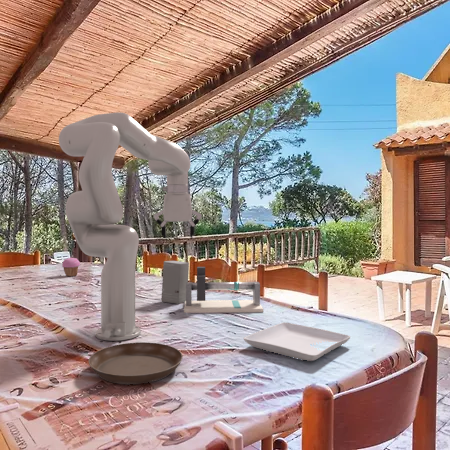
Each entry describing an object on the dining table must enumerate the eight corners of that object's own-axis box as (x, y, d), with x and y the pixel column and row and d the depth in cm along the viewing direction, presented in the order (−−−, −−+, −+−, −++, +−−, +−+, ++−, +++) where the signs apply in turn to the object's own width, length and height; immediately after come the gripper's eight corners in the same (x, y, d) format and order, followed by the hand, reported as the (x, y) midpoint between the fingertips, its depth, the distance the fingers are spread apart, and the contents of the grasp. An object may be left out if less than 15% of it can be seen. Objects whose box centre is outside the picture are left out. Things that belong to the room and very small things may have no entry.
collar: (205, 300, 146) (205, 269, 145) (196, 300, 146) (197, 269, 145) (204, 295, 155) (205, 265, 154) (196, 295, 154) (197, 265, 154)
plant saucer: (185, 354, 103) (185, 341, 103) (178, 390, 82) (178, 374, 82) (102, 354, 102) (102, 341, 102) (75, 391, 82) (75, 374, 82)
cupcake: (83, 275, 221) (83, 257, 220) (69, 278, 213) (69, 258, 213) (72, 274, 225) (72, 256, 225) (58, 276, 218) (58, 257, 218)
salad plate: (283, 331, 123) (283, 320, 123) (351, 347, 109) (352, 334, 109) (240, 350, 107) (241, 337, 106) (315, 370, 93) (315, 355, 93)
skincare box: (161, 302, 159) (161, 261, 159) (171, 298, 166) (171, 259, 165) (179, 304, 155) (179, 263, 155) (189, 300, 162) (189, 261, 161)
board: (263, 312, 145) (263, 308, 145) (183, 312, 143) (184, 309, 143) (257, 303, 159) (257, 299, 159) (185, 303, 157) (185, 300, 157)
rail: (259, 305, 150) (260, 282, 149) (185, 306, 148) (185, 283, 147) (258, 302, 154) (258, 280, 153) (186, 303, 152) (186, 281, 151)
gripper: (152, 190, 143) (153, 238, 144) (201, 190, 144) (202, 238, 146) (154, 190, 150) (154, 236, 152) (201, 190, 152) (201, 236, 153)
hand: (178, 237), depth 149 cm, fingers open, 9 cm apart
